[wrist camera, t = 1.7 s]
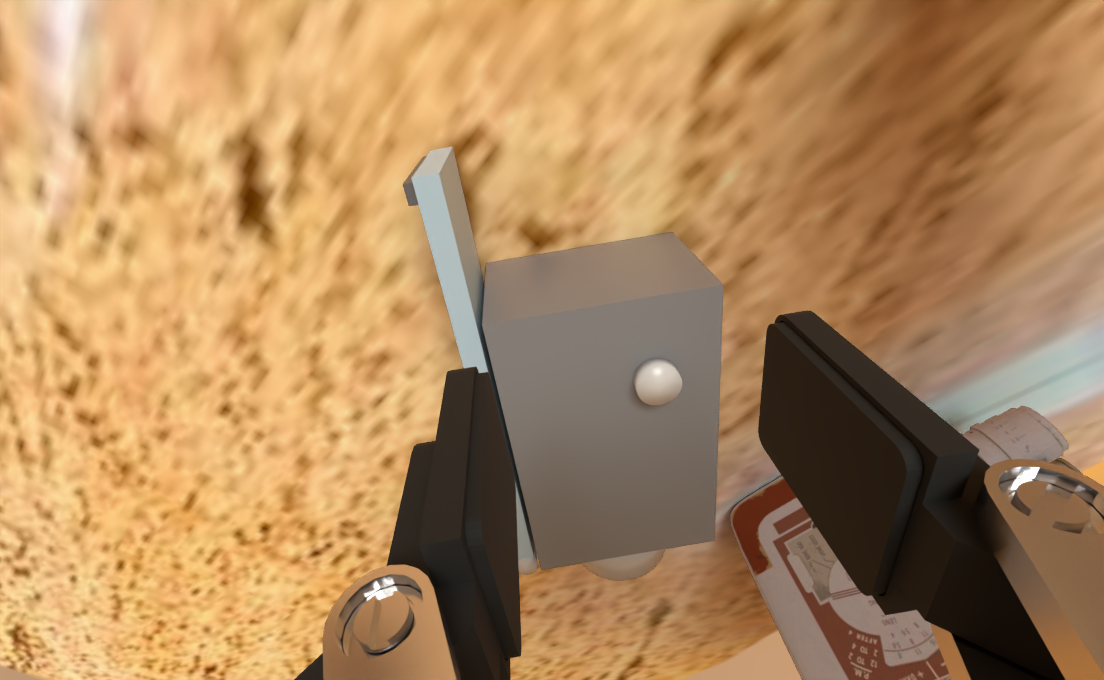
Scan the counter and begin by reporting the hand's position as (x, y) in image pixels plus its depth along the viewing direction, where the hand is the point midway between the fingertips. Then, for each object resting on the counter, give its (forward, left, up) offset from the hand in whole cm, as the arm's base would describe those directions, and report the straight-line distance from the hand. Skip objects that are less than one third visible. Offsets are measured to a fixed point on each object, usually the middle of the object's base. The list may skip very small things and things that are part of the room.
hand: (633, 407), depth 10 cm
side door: (+8, -5, -17) cm, 20 cm away
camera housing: (+13, +1, -17) cm, 22 cm away
